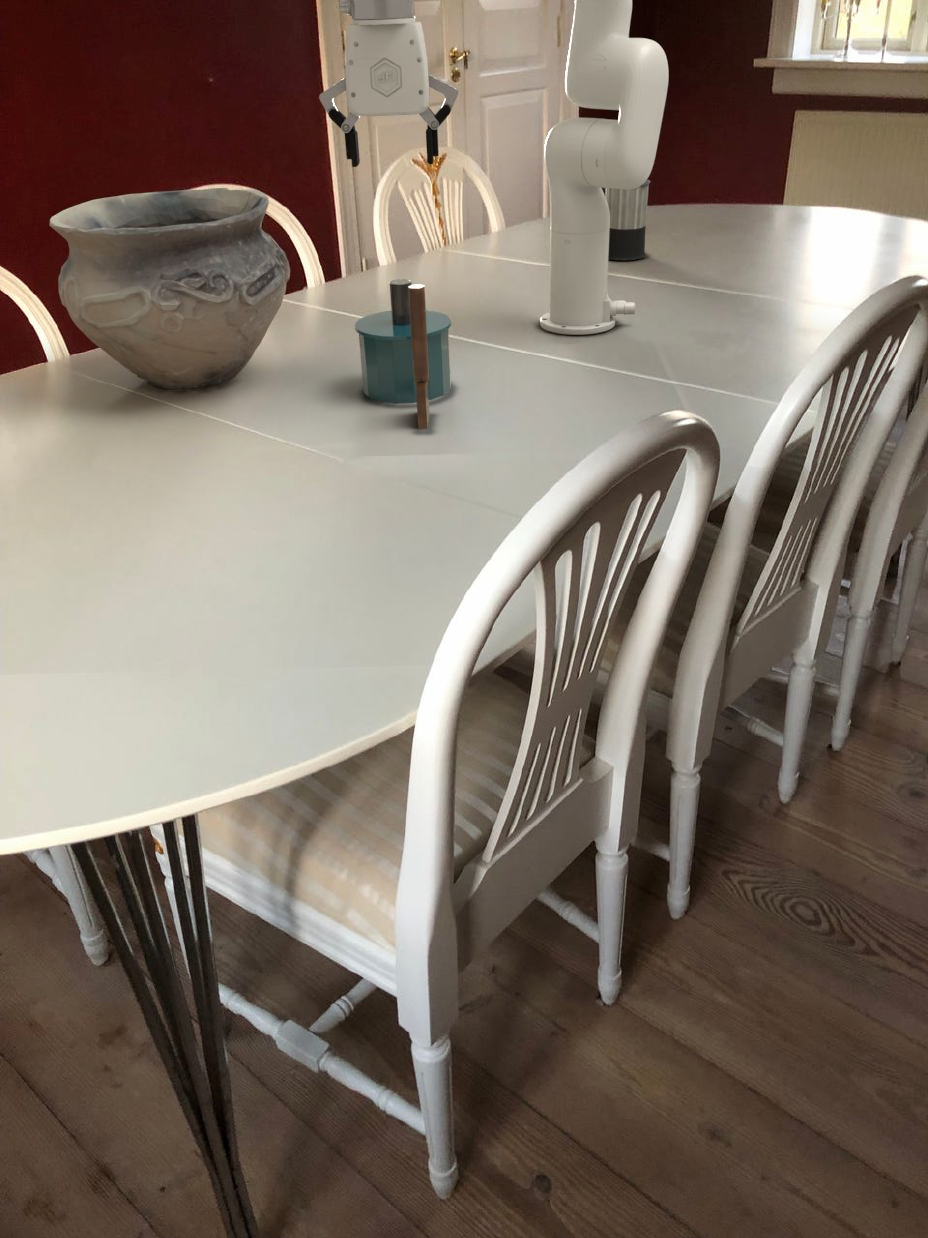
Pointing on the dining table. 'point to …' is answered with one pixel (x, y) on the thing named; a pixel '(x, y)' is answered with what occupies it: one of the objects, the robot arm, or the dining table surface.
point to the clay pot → (173, 281)
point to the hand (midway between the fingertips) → (393, 163)
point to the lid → (399, 317)
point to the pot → (403, 368)
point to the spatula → (420, 351)
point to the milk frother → (627, 222)
